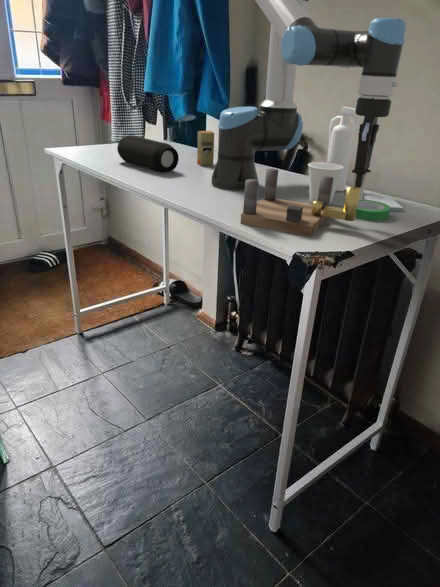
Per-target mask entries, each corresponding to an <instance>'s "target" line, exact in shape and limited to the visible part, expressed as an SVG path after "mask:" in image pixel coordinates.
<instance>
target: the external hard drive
mask: <svg viewBox="0 0 440 587" xmlns="http://www.w3.org/2000/svg"><path fill="white" fill-rule="evenodd" d="M363 198H364V199H365V200H372V201H378V202H381V203H384V204H387V205H388V206H389V207H390V212H404V211H405V207H403V206H402V205H401V204H400V203H399V202H397V201H396V200H395V199H393V198H392V197H391V196H390V195H389V196H388V195H372V194H371V195H370V194H368V195H366V194H365V195H364V194H363ZM364 199H363V200H364Z"/></svg>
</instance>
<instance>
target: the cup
mask: <svg viewBox="0 0 440 587" xmlns="http://www.w3.org/2000/svg"><path fill="white" fill-rule="evenodd" d="M307 166H308V178H309V179H308V180H309V182H308V183H309V184H308V185H309V186H308V187H309V204H313V201H315V200H317V199H318V192H319V185H320V179H321V176H330V177H333V184H332V190H331V197H330V203H329V206H331V204H332V202H333V199H334V196H335V193H336V191H335V190H336V187H337V184H338V181H339V178H340V175H341V172H342V169H343V168H344V167H343V166H342V165H339V164H335V163H328V162H327V161H313V162H309V163H308V164H307Z"/></svg>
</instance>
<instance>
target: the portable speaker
mask: <svg viewBox="0 0 440 587" xmlns="http://www.w3.org/2000/svg"><path fill="white" fill-rule="evenodd" d="M116 147H117V150H116V151H117V153H118V155H119V157H120V158H121V159H122V160H123V161H124V162H126V163H128V164H129V165H130V164H131V165H133V166H138V167H141V168H145V169H148V170H151V171H155V172H156V173H157V172H158V173H161V174H166V173H170V172H172V171H174V170H175V169H176V168H177V166H178V164H179V161H180V160H179V154H178V151H177V150H176V149H175V148H174V147H173V146H172V145H171V144H169V143H166V142H162V141H158V140H154V139H149V138H144V137H141V136H136V135H132V134H131V135H126V136H123V137H122V138H121V139H120V140H119V141H118V143H117V146H116Z"/></svg>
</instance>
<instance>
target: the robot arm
mask: <svg viewBox="0 0 440 587" xmlns="http://www.w3.org/2000/svg"><path fill="white" fill-rule="evenodd" d="M254 1H255V2H256V4H257V5H258V6H259V8H260V10H261V11H262V12H263V14H264V15H265V17H266V18H267V20H268V21H269V22H270V32H269V33H270V34H269V49H268V57H267V58H268V61H267V70H266V71H267V72H266V85H265V99H264V100H263V101H262V102H261V103H260V104H259V109H258V108H257V107H256V106H235V107H229V108H226V109H224V110H222V111H221V112H220V115H219V121H218V140H217V141H218V143H217V144H218V145H217V161H216V163H215V166H214V169H213V171H212V174H211V183H210V184H211V185H212V186H214V187H216V188H219V189H223V190H228V191H229V190H230V191H245V180H247V179H254V180H258V181H259V176H258V173H257V169H256V164H255V153H256V152H257V151H259V152H260V151H261V152H262V151H264V152H266V151H279V152H282V151H283V150H285V151H286V150H291V149H292V148H294V147H295V146H296V145H297V144H298V143H299V141H300V139H301V137H302V133H303V127H304V126H303V125H304V124H303V123H304V122H303V120H302V119H303V118H302V115H301V114H300V113H299V112H298V111H297V110H298V106H297V104H296V103H295V102H294V92H295V82H296V75H297V74H296V73H297V66H300V67H301V66H321V67H322V66H323V67H337V68H338V67H339V68H347V69H348V68H349V69H350V68H362V72H361V76H360V82H359V86H358V91H357V92H358V93H357V94H358V95H359V96H360V97H358V98H357V99H356V106H355V109H356V111H355V113H356V114H355V115H357V116H362V117H364V118H363V122H362V123H361V124H359V129H358V133H357V134H358V140H357V147H356V148H357V149H356V154H355V162H354V168H353V169H352V170H351V173H354V176H353V181H352V186H356V187H360V188H361V190H360V195H359V200H363V198H364V192H365V187H366V181H367V176H368V173H369V174H370V173H371V171H372V169H369V168H370V166H371V159H372V155H373V150H374V147H375V146H374V145H375V143H376V138H377V134H378V132H379V130H380V124H378V120H379V119H378V118H386V117H388V116H389V115H390V109H391V105H392V100H391V99H390V98H391V97H393V95H394V88H396V87H398V81H396V78H397V76H398V75H397V73H398V69H399V65H400V59H401V57H402V56H401V55H402V50H403V46H404V43H405V34H406V26H407V24H406V23H407V22H406V21H405V20H404V19H402V18H398V17H377V18H373V19H372V20H371V21H370V23H369V27H368V30H347V29H333V28H325V27H324V28H322V27H319V26H318V25H317V24H316V23H315V21H313V19H312V18H311V16H310V15H309V14H308V12H306V10H305V7H307V5H308V4H309V0H254Z"/></svg>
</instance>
